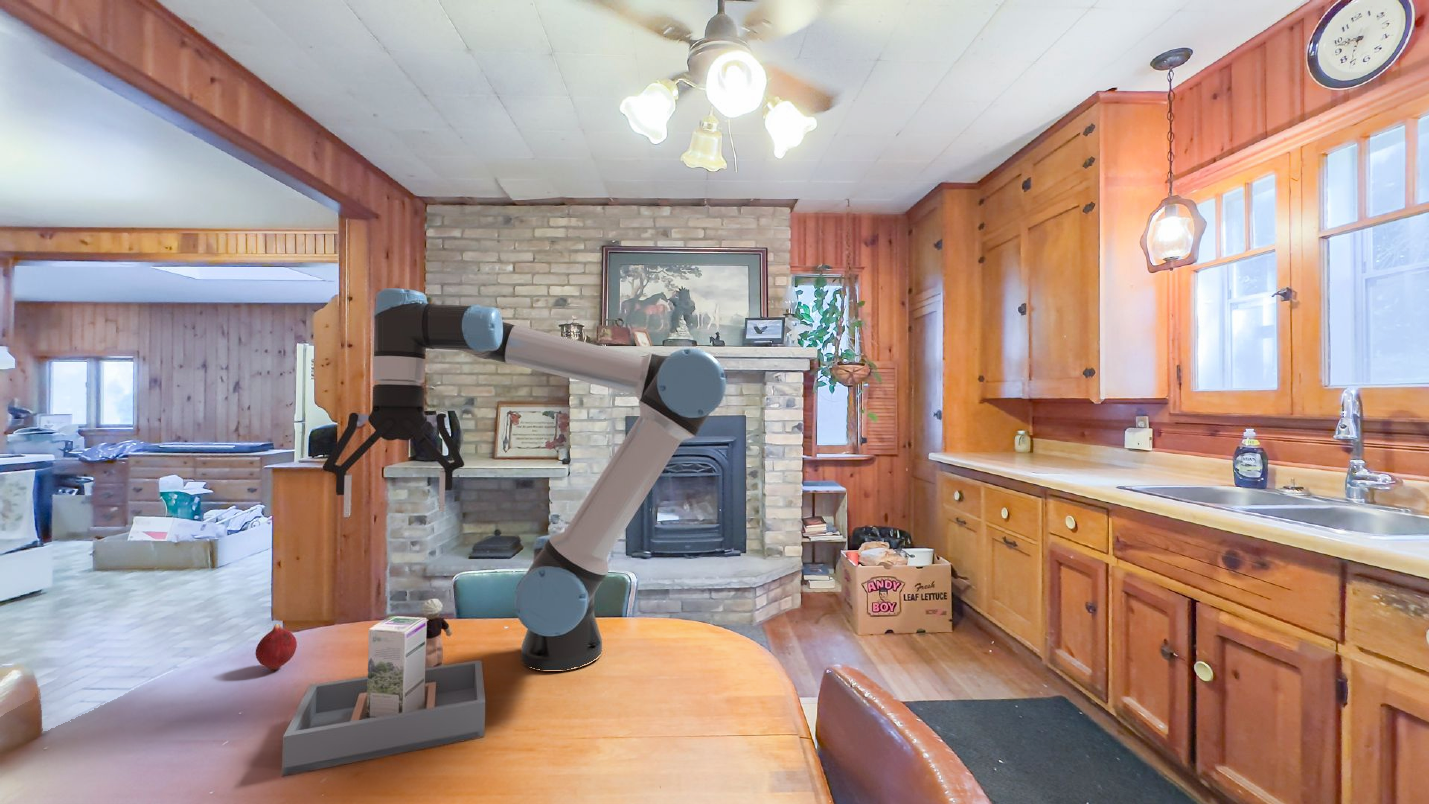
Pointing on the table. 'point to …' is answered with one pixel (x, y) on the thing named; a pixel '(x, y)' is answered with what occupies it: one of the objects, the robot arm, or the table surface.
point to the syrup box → (396, 666)
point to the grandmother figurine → (434, 633)
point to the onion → (276, 648)
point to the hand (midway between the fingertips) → (395, 512)
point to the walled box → (382, 720)
